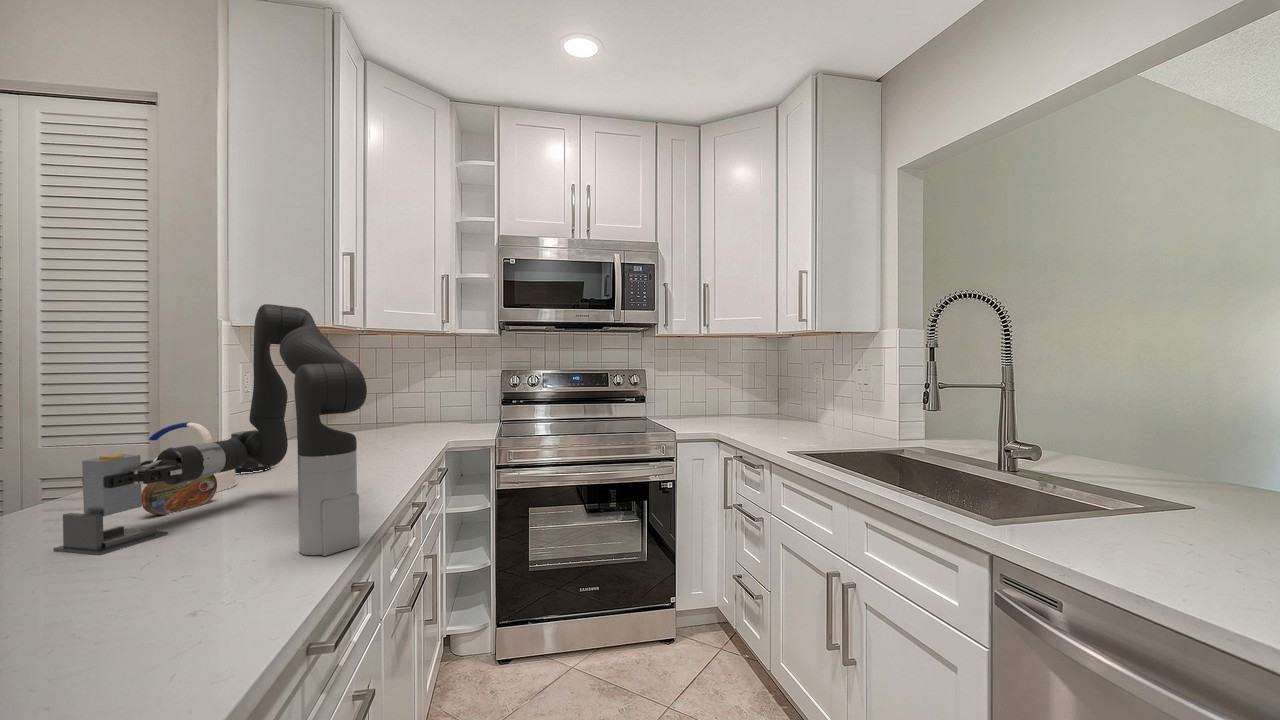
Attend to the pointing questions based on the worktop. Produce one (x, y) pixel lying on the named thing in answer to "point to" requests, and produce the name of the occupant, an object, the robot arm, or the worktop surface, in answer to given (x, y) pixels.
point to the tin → (177, 495)
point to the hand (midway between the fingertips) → (95, 482)
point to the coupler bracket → (99, 535)
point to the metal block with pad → (110, 499)
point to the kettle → (222, 478)
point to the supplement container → (248, 461)
